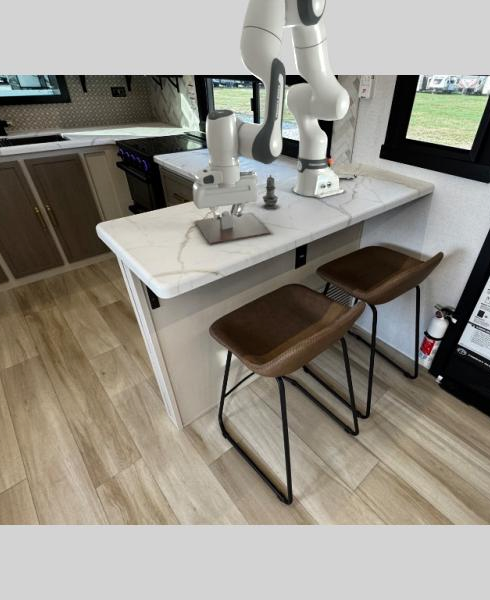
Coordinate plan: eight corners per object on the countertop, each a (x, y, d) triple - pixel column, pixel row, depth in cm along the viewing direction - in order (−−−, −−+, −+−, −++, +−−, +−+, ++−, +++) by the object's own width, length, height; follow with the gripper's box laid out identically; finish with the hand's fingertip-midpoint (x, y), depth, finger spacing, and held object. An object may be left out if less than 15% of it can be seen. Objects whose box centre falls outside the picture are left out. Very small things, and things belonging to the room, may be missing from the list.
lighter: (222, 229, 102) (220, 205, 98) (219, 227, 103) (217, 203, 99) (241, 225, 106) (240, 201, 101) (238, 223, 107) (237, 199, 102)
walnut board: (250, 214, 115) (250, 212, 115) (270, 234, 103) (270, 232, 102) (195, 222, 108) (195, 220, 107) (210, 244, 95) (210, 243, 95)
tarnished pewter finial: (270, 203, 125) (271, 171, 118) (281, 207, 122) (282, 175, 115) (259, 206, 122) (259, 174, 115) (269, 210, 119) (269, 178, 112)
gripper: (253, 167, 100) (254, 209, 109) (188, 173, 92) (194, 218, 101) (261, 173, 96) (261, 216, 104) (193, 179, 88) (199, 226, 96)
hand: (228, 217), depth 102 cm, fingers closed on lighter, 6 cm apart
